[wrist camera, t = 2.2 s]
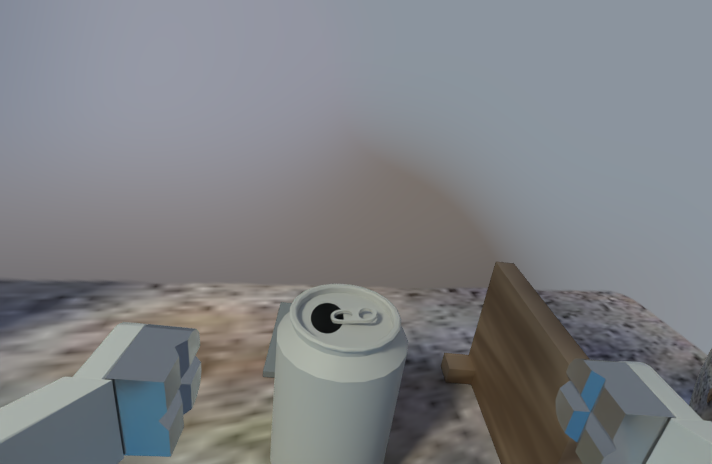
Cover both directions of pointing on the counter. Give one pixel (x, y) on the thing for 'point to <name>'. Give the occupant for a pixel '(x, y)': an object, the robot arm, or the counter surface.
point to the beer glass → (703, 391)
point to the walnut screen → (518, 371)
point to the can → (336, 377)
